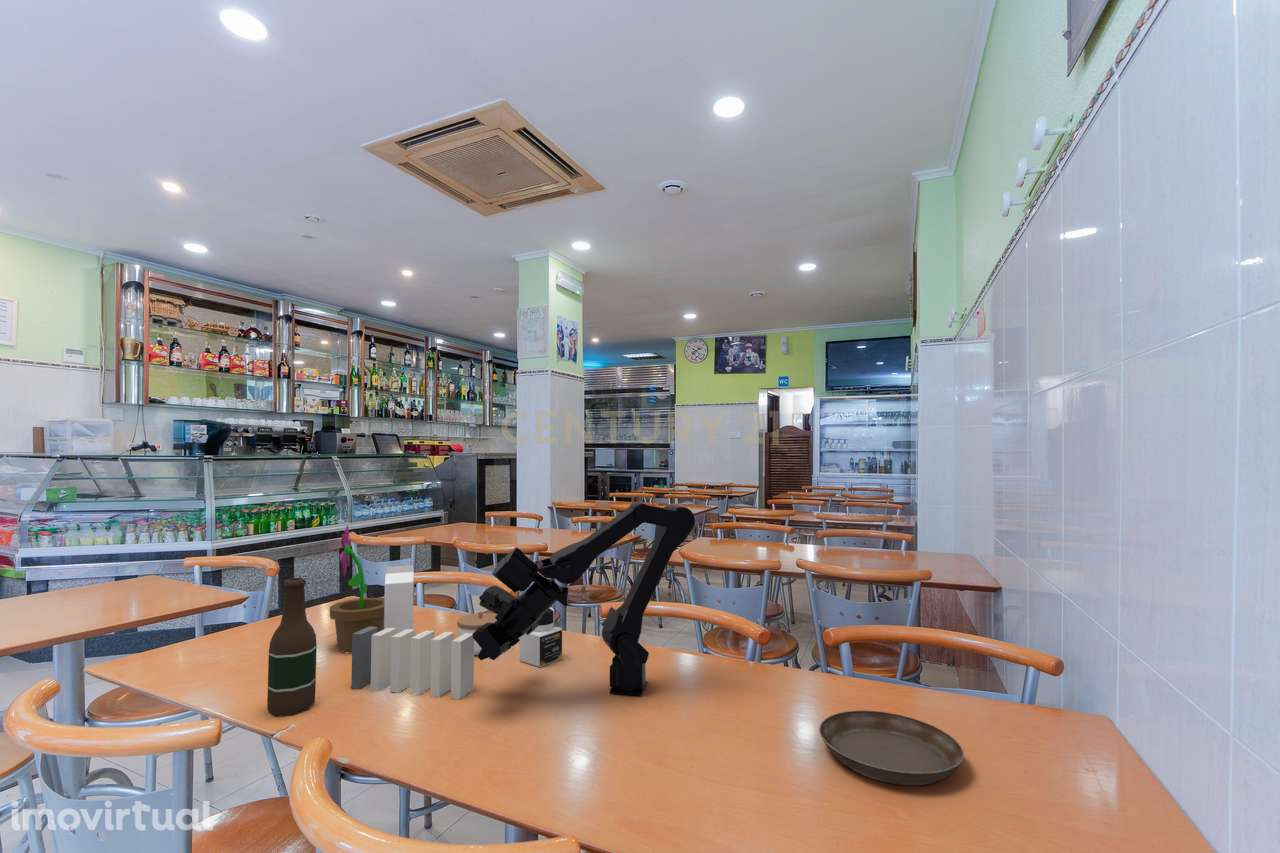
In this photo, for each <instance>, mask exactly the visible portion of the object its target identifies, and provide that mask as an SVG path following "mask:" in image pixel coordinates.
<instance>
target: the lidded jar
mask: <svg viewBox="0 0 1280 853" xmlns="http://www.w3.org/2000/svg"><path fill="white" fill-rule="evenodd" d="M496 616H497V614H496V613H494V612H483V611H482V610H481V611H480V610H479V611H478V612H477V613H470V614H467V615H464V616H461V617H459V618H458V619H457V621H456V622H457V623H456V624H457V636H458V637H459V636H461V635H463V634H465V633H470V634H473V633H474V632H475V631H476V630H477V629H478V628H479V627H481V626H482V625H484V624H486V623H494V624H495V622H496V621H497V620H496V618H495V617H496ZM458 637H457V638H458ZM481 649H482V648H481V647H480V646H479V645H478V643H477V642H476V641H475V640H474V656H478V654H479V653H480V651H481Z"/></svg>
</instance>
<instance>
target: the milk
mask: <svg viewBox="0 0 1280 853" xmlns="http://www.w3.org/2000/svg"><path fill="white" fill-rule="evenodd" d="M414 569H415V568H414V565H404V566H403V565H402V566H400V565H399V566H387V567H386V568H385V578H384V598H385V603H384V629H386V628H396V634H398V633H400V632H402V631H404V630H406V629H413V630H414V589H415V588H414V584H415V583H414V580H415V579H414V578H415V577H414V576H415V575H414V574H415V573H414V572H415V570H414Z"/></svg>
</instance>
